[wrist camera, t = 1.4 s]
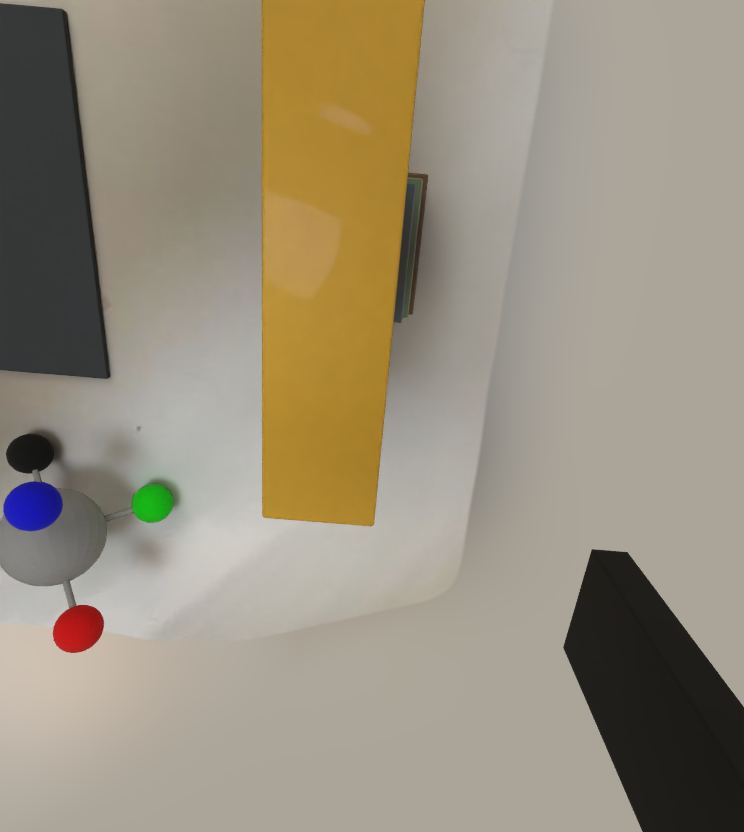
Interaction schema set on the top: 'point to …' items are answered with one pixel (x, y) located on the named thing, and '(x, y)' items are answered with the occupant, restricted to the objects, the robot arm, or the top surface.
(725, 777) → the robot arm
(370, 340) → the bar
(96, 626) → the molecular model
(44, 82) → the mat
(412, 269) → the tower
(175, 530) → the top surface
